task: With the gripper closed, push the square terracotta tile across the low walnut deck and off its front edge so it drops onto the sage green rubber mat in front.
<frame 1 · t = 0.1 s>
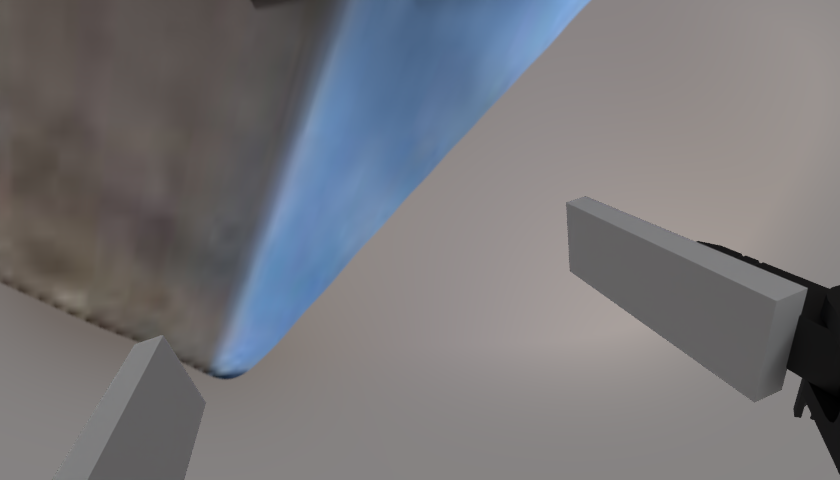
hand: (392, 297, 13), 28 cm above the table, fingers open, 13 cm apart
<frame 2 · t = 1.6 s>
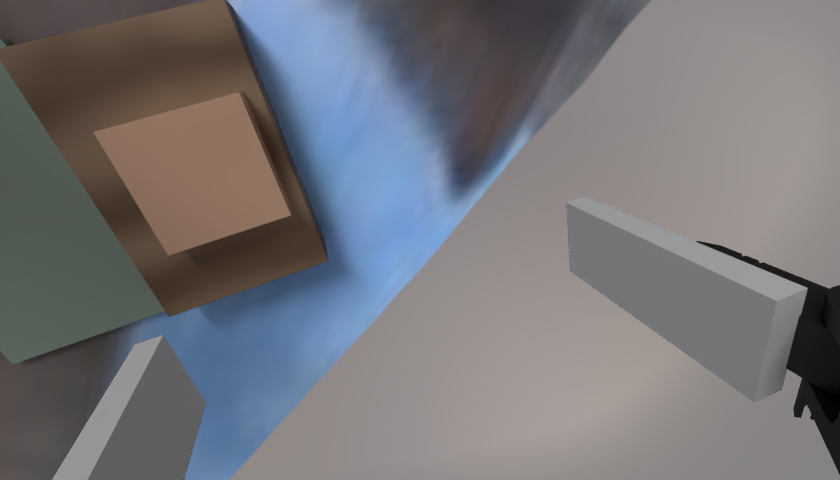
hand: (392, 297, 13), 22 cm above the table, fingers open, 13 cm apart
walnut deck: (205, 163, 29), on the table
sage mat: (13, 219, 27), on the table
terracotta tile: (208, 170, 26), point 4 cm above the table, touching walnut deck
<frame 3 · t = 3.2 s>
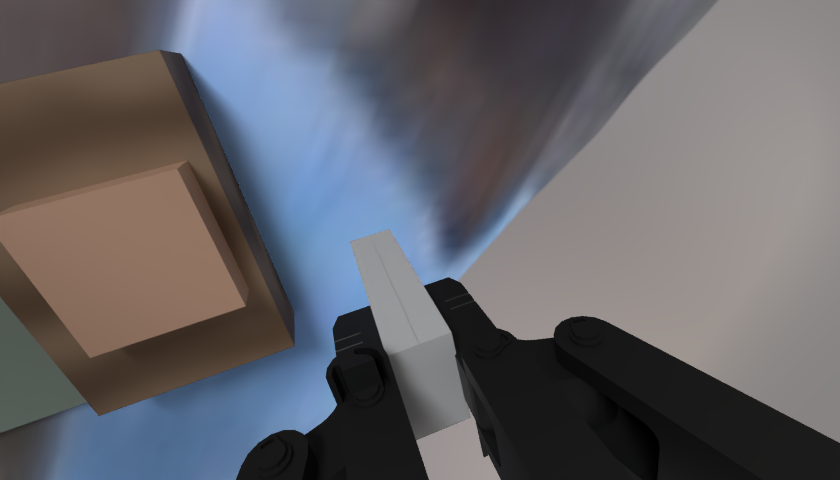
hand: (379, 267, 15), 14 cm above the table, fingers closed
walnut deck: (149, 231, 25), on the table
terracotta tile: (144, 252, 21), point 4 cm above the table, touching walnut deck
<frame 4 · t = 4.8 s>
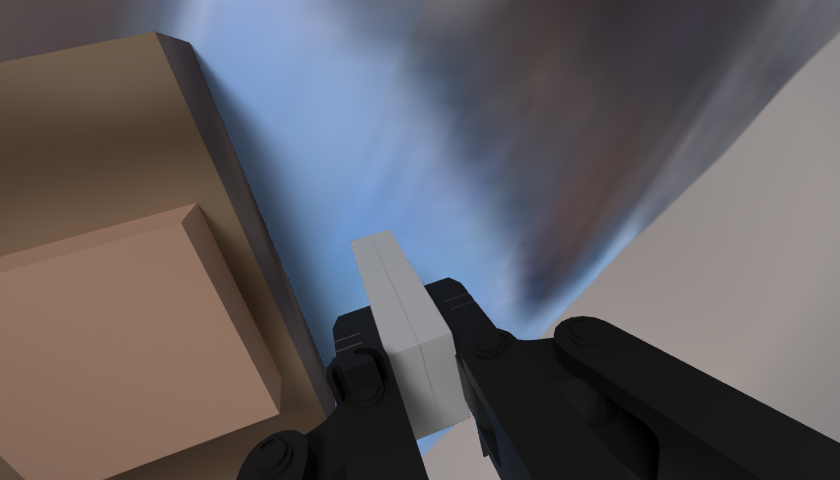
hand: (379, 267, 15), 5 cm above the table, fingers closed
walnut deck: (141, 291, 18), on the table
terracotta tile: (131, 336, 14), point 4 cm above the table, touching walnut deck
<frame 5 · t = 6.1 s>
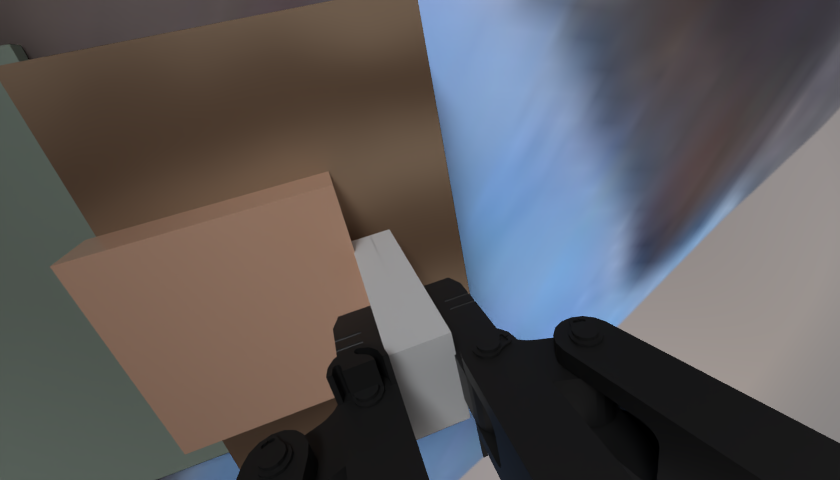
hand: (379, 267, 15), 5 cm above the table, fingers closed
walnut deck: (313, 242, 19), on the table
sage mat: (11, 332, 17), on the table
terracotta tile: (258, 300, 15), point 4 cm above the table, touching gripper, walnut deck
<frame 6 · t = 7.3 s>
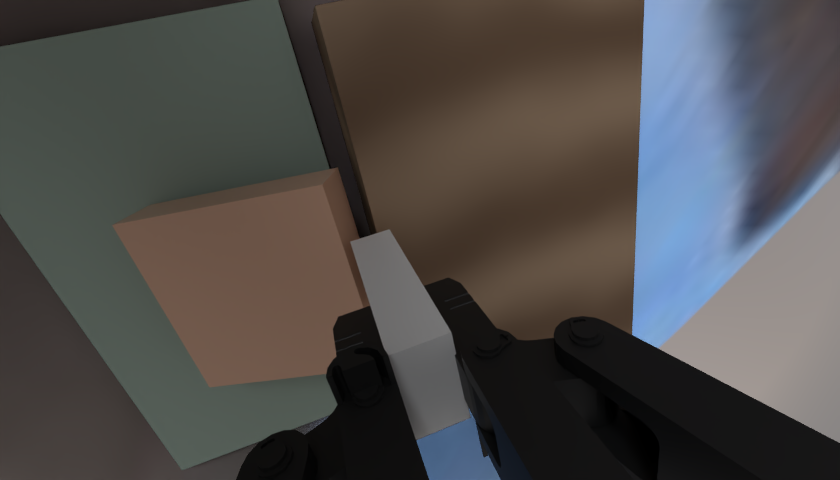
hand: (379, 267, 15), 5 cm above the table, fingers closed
walnut deck: (480, 193, 20), on the table
sage mat: (222, 270, 18), on the table
terracotta tile: (277, 274, 17), point 2 cm above the table, tilted 20°
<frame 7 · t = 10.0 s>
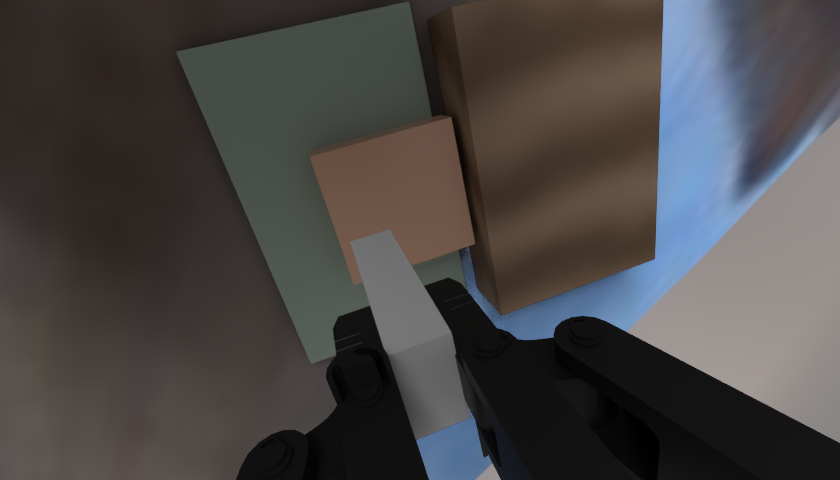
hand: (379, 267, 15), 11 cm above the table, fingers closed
walnut deck: (537, 148, 27), on the table
sage mat: (352, 203, 25), on the table
terracotta tile: (393, 196, 25), point 1 cm above the table, touching sage mat
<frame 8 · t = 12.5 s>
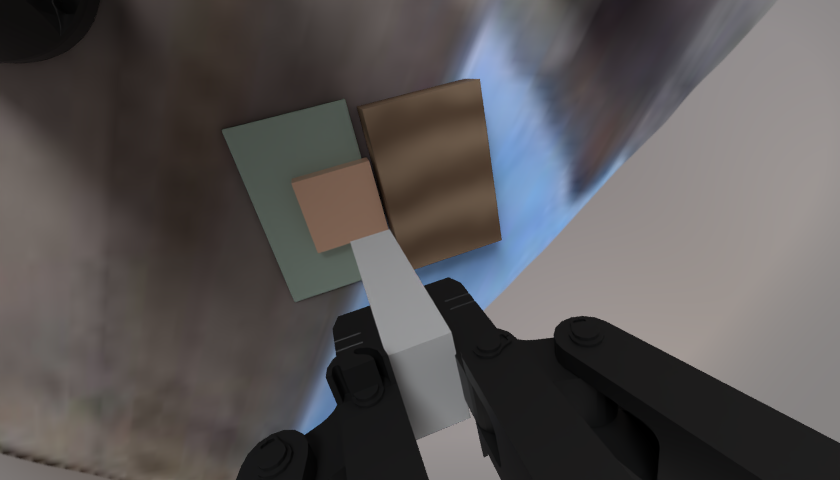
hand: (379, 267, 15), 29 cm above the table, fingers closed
walnut deck: (428, 174, 45), on the table
sage mat: (317, 207, 43), on the table
terracotta tile: (341, 202, 43), point 1 cm above the table, touching sage mat
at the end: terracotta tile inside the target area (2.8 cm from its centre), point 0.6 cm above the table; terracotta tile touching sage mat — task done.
